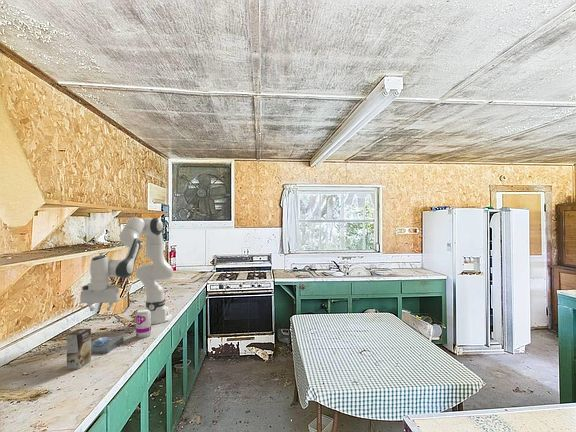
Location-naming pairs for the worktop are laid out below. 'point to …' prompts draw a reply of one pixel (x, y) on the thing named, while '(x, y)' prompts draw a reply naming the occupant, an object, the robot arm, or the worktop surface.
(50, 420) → the worktop surface
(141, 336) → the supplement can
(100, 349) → the plate
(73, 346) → the coffee box
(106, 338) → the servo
